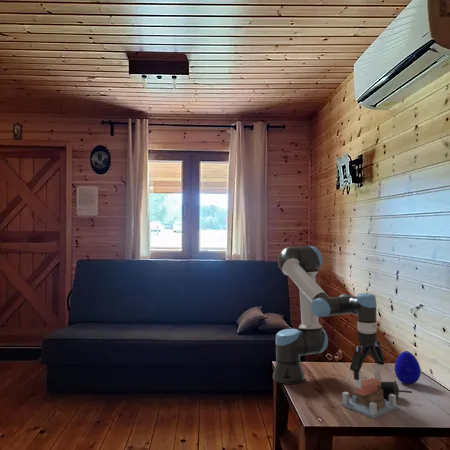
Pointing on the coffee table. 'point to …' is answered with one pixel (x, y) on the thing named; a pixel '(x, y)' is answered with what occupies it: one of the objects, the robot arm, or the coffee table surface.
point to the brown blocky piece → (372, 398)
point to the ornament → (407, 368)
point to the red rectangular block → (368, 386)
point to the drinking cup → (391, 389)
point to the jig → (372, 407)
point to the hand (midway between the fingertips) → (368, 383)
